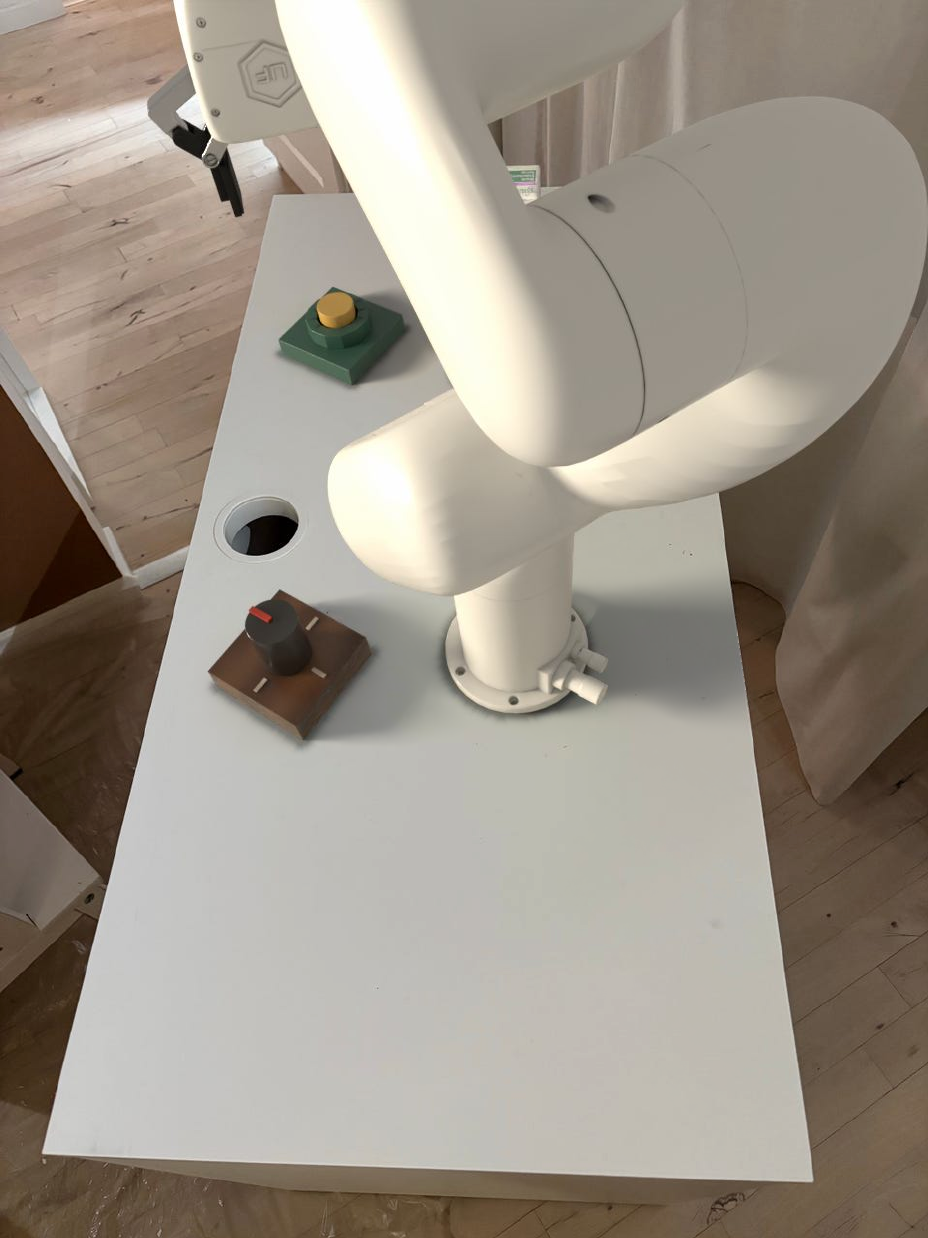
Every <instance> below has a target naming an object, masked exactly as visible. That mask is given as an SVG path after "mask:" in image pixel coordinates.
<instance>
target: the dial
mask: <svg viewBox="0 0 928 1238" xmlns="http://www.w3.org/2000/svg"><path fill="white" fill-rule="evenodd" d="M270 599H271V598H270ZM270 599H266V600H263V601H261V602H259V603H258V604H256V605H255V606H254V605H252V606H250V608H249V609H248V614H247V615H246V618H245V621H244V629H245V630H246V633H247V635H248V637H249V639H250V640H251V642H252V644H253V646H254V648H255V650H256V652H257V653H258V655H259V657H260V659H261V661H262V663H263V665H264V666H265V668H266V669H267V670H268V671H269V672H271V673H272V674H275V675H279V676H288V675H293V674H295V673H297V672H299V671H300V670H302V669H303V668H304V667H305V666H306V665H307V663H308V662H309V660H310V658H311V654H312V648H311V644H310V642H309V640H308V637H307V635H306V633H305V630H304V628H303V626H302V623H301V621H300V619H299V617H298V614H297V612H296V610H295V608H294V607H293V606H292V605H291V604H290V603H288V602H286V601H284V600H280V599H271V600H270Z"/></svg>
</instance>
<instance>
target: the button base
mask: <svg viewBox="0 0 928 1238" xmlns="http://www.w3.org/2000/svg"><path fill="white" fill-rule="evenodd" d="M335 292H341V293H345V294H348V295H349V296H350V297H351V298H352V299H353V303H354V307H355V312H356V317H355V320H354V321H353V322H352V323H351V324H350V325H348V326H345V327H343V328H340V329H329V328H326V327H325V326H323V325H322V324H321V322H320V318H319V314H318V311H317V304H318V302H319V300H320V299H321V298H322V297H324V296H325V295H327V294H330V293H335ZM404 331H406V327H405V322H404V315H403V314H402V313H399V312H397V311H394V310H392V309H389V308H388V307H385V306H382V305H380V304H377V303H375V302H372V301H370V300H367V299H365V298H363V297H361V296H358V295H355V294H353V293H351V292H347V291H345V290H343V289H340V288H338V287H335V286H331V287H330V288H329V289H328V291H326V292H325V293H324V294H323V295H322V296H321V297H320V298H317V300H316V301H315V302H314V303H312V304H311V305H310V306H309V307H308V309H307V311H306V312H305V313H303V315H302V316H301V317H300V318H299V319H298V320H297V321H295V323H294V324H293V325H292V326H290V327H289V328H288V329H287V330H286V331H285V332H284V333H283V334H282V335H281V336H280V337H279V338H278V339H277V340H278V343H279V346H280V350H281V353H282V355H284V356H286V357H288V358H290V359H292V360H295V361H297V362H299V363H301V364H303V365H306V366H308V367H310V368H312V369H314V370H317V371H319V372H322V373H323V374H326V375H328V376H330V377H333V378H335V379H337V380H340V381H341V382H344V383H346V384H348V385H351V386H354V384H355V383H356V382H357V381H358V380H359V379H360V378H361V377H362V376H363V375H364V374H365V373H366V372H367V371H368V370H369V369H370V368H371V366H373V364H374V363H376V361H377V360H378V359H379V358H380V357H381V356H382V355H383V354H384V353H385V352H386V351H387V350H388V348H389V347H390V346H391V345H392V344H393V343H394V342H395V341H396V340H397V339H398V338H399V337H400V336H401V335H402V334H403V333H404Z"/></svg>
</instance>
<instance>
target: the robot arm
mask: <svg viewBox="0 0 928 1238" xmlns="http://www.w3.org/2000/svg"><path fill="white" fill-rule="evenodd" d="M172 2H173V5H174V7H173V8H174V12H175V16H176V17H175V18H176V21H177V27H178V30H179V34H180V35H179V36H180V39H181V43H182V46H183V51H184V54H185V58H186V61H187V64H186V65H184V66H183V67H182V68H181V69H180V70H179V71H178V72H177V73H175V75H173V76H172V77H171V78H170V79H169V80H167V82H166V83H164V84H163V85H162V86H161V87H160V88H159V89H157V91H156V92H154V94H152V95H151V96H150V97H149V98H148V99H147V101H146V110H147V111H146V112H147V116H148V118H149V119H150V120H151V121H152V122H153V123H154V124H155V125H156V126H157V127H158V128H159V129H160V130H161V131H162V132H163V133H164V134H165V135H166V136H168V137H169V138H170V139H171V140H172V142H173V144H174V145H175V147H178V149H181V150H183V151H184V152H186V153H188V154H189V155H192V156H193V157H195V158H196V159H199V160H201V162H202V165H203V166H204V167H206V168H208V169H209V170H210V173H211V176H212V179H213V182H214V185H215V188H216V191H217V194H218V197H219V200H220V202H221V203H225V202H229V203H230V206H231V209H232V213H233V215H234V218H240V217H243V215H244V214H245V208H244V201H243V195H242V191H241V188H240V184H239V181H238V178H237V175H236V171H235V169H234V164H233V162H232V159H231V155H230V152H229V148H228V146H229V144H230V145H234V144H235V145H236V144H244V143H249V142H254V141H259V140H264V139H270V138H275V137H280V136H284V135H289V134H294V133H298V132H303V131H308V130H312V129H317V128H321V130H322V132H323V134H324V136H325V139H326V140H327V143H328V145H329V146H330V149H331V150H332V152H333V154H334V156H335V158H336V160H337V162H338V164H339V166H340V169H341V170H342V172H343V174H344V176H345V178H346V180H347V182H348V183H349V185H350V188H351V190H352V192H353V193H354V196H355V197H356V199H357V201H358V203H359V205H360V207H361V208H362V210H363V212H364V214H365V216H366V218H367V220H368V222H369V224H370V226H371V228H372V230H373V233H374V234H375V235H376V237H377V240H378V241H379V243H380V245H381V247H382V249H383V251H384V252H385V255H386V257H387V258H388V261H389V262H390V265H391V267H392V268H393V270H394V272H395V275H396V276H397V278H398V280H399V282H400V284H401V286H402V288H403V290H404V291H405V294H406V296H407V298H408V299H409V302H410V304H411V306H412V307H413V310H414V312H415V313H416V316H417V318H418V320H419V322H420V325H421V326H422V328H423V330H424V332H425V334H426V336H427V338H428V340H429V343H430V345H431V346H432V348H433V350H434V352H435V354H436V356H437V358H438V360H439V362H440V364H441V366H442V368H443V370H444V372H445V375H446V376H447V378H448V380H449V382H450V383H451V385H452V387H453V388H450V389H449V390H446V391H445V392H443V393H441V394H439V395H437V396H435V397H433V398H431V399H430V400H428V401H425V402H424V404H422V405H420V406H418V407H417V408H415V409H413V410H411V411H409V412H407V413H406V414H404V415H402V416H400V417H398V418H396V419H394V420H392V421H391V422H389V423H387V424H384V425H382V426H381V427H379V428H377V429H375V430H374V431H371V432H369V433H367V434H365V435H364V436H362V437H360V438H358V439H355V440H354V441H352V442H351V443H349V444H347V445H346V446H345V447H343V448H342V449H340V451H338V452H337V453H336V454H335V456H334V457H333V460H332V462H331V464H330V467H329V470H328V475H327V496H328V502H329V506H330V511H331V514H332V517H333V520H334V522H335V524H336V525H335V526H336V527H337V529H338V531H339V533H340V535H341V537H342V539H343V540H344V542H345V543H346V544H347V546H348V547H349V549H350V550H351V551H352V553H353V554H354V555H355V556H356V557H357V558H358V559H359V561H361V562H362V564H364V565H365V566H366V567H367V568H368V569H369V570H371V571H372V572H373V573H375V574H376V575H377V576H378V577H380V578H383V579H384V580H386V581H388V582H390V583H392V584H394V585H398V586H400V587H404V588H407V589H411V590H415V591H419V592H422V593H425V594H430V595H433V596H438V597H439V596H440V597H447V598H450V597H453V600H454V607H455V612H456V615H455V617H454V618H453V619H452V621H451V623H450V625H449V628H448V631H447V634H446V639H445V643H444V644H445V645H444V646H445V648H444V649H445V659H446V665H447V668H448V671H449V673H450V677H451V678H452V680H453V682H454V683H455V685H456V686H457V688H458V689H459V690H460V691H461V692H462V693H463V694H464V695H465V696H466V697H468V698H469V700H472V701H473V702H474V703H476V704H477V705H480V706H482V707H484V708H486V709H488V710H491V711H496V712H500V713H503V714H527V713H533V712H536V711H540V710H544V709H546V708H548V707H551V706H552V705H555V704H556V703H558V702H559V701H561V700H562V699H563V698H565V697H566V696H568V695H569V693H570V692H571V691H572V692H573V693H575V694H577V695H578V697H581V698H582V699H584V700H586V701H588V702H590V703H592V704H594V705H596V706H599V705H600V703H601V702H602V701H603V699H604V698H605V696H606V693H607V691H608V688H609V685H608V684H607V683H605V682H603V681H601V680H599V679H597V678H596V677H594V676H592V675H590V674H589V675H588V674H586V673H584V672H585V669H586V666H587V667H588V668H590V669H591V670H593V671H596V672H597V673H600V674H602V673H603V672H604V671H605V669H606V667H607V665H608V663H609V658H608V657H606V656H604V655H602V654H600V653H598V652H597V651H592V650H591V649H589V638H588V635H587V629H586V627H585V625H584V623H583V621H582V619H581V617H580V615H579V614H578V613H577V612H576V610H575V609H574V608H573V606H572V604H573V573H574V572H573V570H574V552H575V551H574V549H575V533H576V532H579V531H580V530H582V529H584V528H585V527H587V526H588V525H590V524H592V523H593V522H594V521H595V522H596V520H598V519H600V518H602V516H605V515H607V514H610V513H612V512H619V511H625V510H626V511H627V510H636V509H644V508H650V507H657V506H658V507H659V506H667V505H673V504H674V505H675V504H678V503H683V502H688V501H693V500H696V499H700V498H704V497H708V496H712V495H715V494H719V493H721V492H724V491H726V490H730V489H732V488H735V487H737V486H739V485H742V484H744V483H747V482H748V481H750V480H753V479H755V478H756V477H758V476H760V475H762V474H764V473H767V472H768V471H770V470H771V469H773V468H775V467H777V466H779V465H780V464H782V463H784V462H785V461H787V460H789V459H790V458H792V457H794V456H795V455H797V454H798V453H799V452H801V451H802V450H804V449H806V448H807V447H808V446H809V445H811V444H812V443H813V442H815V441H816V440H817V439H818V438H819V437H821V436H822V435H823V434H825V432H827V431H828V430H829V429H830V428H831V427H832V426H833V425H835V424H836V423H837V421H839V420H840V419H841V418H843V416H844V415H845V414H846V413H847V412H849V410H850V409H851V408H852V407H853V406H854V405H855V404H856V403H857V402H858V401H859V400H860V399H861V398H862V396H863V395H864V394H865V393H866V392H867V390H868V389H869V388H870V387H871V385H872V384H873V383H874V381H875V380H876V379H877V377H878V376H879V375H880V373H881V372H882V371H883V369H884V367H885V365H886V364H887V363H888V361H889V359H890V358H891V356H892V354H893V352H894V350H895V349H896V347H897V345H898V343H899V341H900V339H901V337H902V334H903V332H904V330H905V329H906V326H907V323H908V320H909V318H910V315H911V314H912V313H911V312H912V311H913V308H914V305H915V301H916V298H917V296H918V295H917V294H918V291H919V288H920V284H921V280H922V275H923V271H924V265H925V261H926V253H927V245H928V195H927V188H926V182H925V178H924V176H923V172H922V169H921V166H920V163H919V161H918V159H917V155H916V153H915V151H914V150H913V147H912V146H911V144H910V142H909V141H908V140H907V139H906V137H905V136H904V135H903V134H902V132H900V131H899V130H898V128H897V127H896V126H894V124H892V122H890V121H889V120H888V119H887V118H886V117H885V116H883V115H882V114H880V113H879V112H878V111H876V110H874V109H871V108H869V107H867V106H865V105H862V104H859V103H857V102H854V101H851V100H845V99H841V98H837V97H831V96H822V95H821V96H819V95H811V96H810V95H809V96H788V97H778V98H773V99H767V100H761V101H758V102H753V103H749V104H745V105H742V106H739V107H736V108H735V107H734V108H732V109H729V110H726V111H723V112H721V113H717V114H714V115H712V116H709V117H706V118H704V119H701V120H699V121H697V122H695V123H693V124H691V125H689V126H687V127H684V128H682V129H680V130H678V131H676V132H674V133H672V134H669V135H668V136H665V137H664V138H661V139H660V140H657V141H655V142H653V143H651V144H648V145H646V146H644V147H642V148H640V149H638V150H635V151H633V152H631V153H628V154H626V155H625V156H623V157H620V158H618V159H616V160H615V161H612V162H610V163H609V164H606V165H604V166H601V167H599V168H598V169H596V170H594V171H591V172H590V173H587V174H586V175H585V174H584V175H583V176H581V177H580V178H577V179H575V180H573V181H571V182H569V183H567V184H565V185H563V186H561V187H558V188H556V189H555V190H552V191H550V192H549V193H546V194H544V195H541V197H540V198H538V199H536V200H534V201H532V202H530V203H528V204H526V205H525V203H524V201H523V199H522V197H521V195H520V193H519V191H518V189H517V187H516V185H515V183H514V181H513V179H512V177H511V174H510V172H509V170H508V168H507V166H508V165H507V163H506V162H505V159H504V158H503V155H502V153H501V151H500V150H499V147H498V145H497V143H496V141H495V139H494V137H493V135H492V133H491V130H490V128H489V124H492V123H494V122H496V121H498V120H500V119H503V118H506V117H507V116H509V115H512V114H513V113H516V112H518V111H520V110H523V109H525V108H527V107H530V106H531V105H533V104H536V103H538V102H541V101H542V100H545V99H547V98H549V97H552V96H553V95H556V94H558V93H561V92H562V91H565V90H567V89H570V88H572V87H574V86H575V85H576V86H577V85H579V84H580V83H582V82H583V83H584V82H585V81H587V80H589V79H591V78H593V77H596V76H597V75H599V74H601V73H603V72H605V71H607V70H609V69H611V68H613V67H615V66H617V65H618V64H620V63H621V62H623V61H625V60H626V59H629V58H630V57H631V56H633V55H634V54H636V53H637V52H639V51H640V50H642V49H643V48H645V47H646V46H647V45H648V44H650V43H651V42H652V41H653V40H654V39H655V38H656V37H657V36H658V35H660V33H662V31H664V30H665V29H666V28H667V27H668V26H669V25H670V24H671V22H672V21H673V20H674V18H675V17H676V16H677V15H678V13H680V11H681V10H682V9H683V7H684V6H685V5H686V3H687V2H688V0H173V1H172ZM195 95H196V98H197V101H198V104H199V108H200V111H201V113H202V116H203V120H204V122H205V123H204V124H203V127H202V128H200V127H198V126H196V125H194V124H193V123H191V122H189V121H188V120H186V119H184V118H182V117H181V116H180V115H179V114H178V112H177V111H178V110H179V109H180V108H181V107H182V106H184V104H186V103H187V102H188V101H190V99H191V98H193V97H194V96H195Z"/></svg>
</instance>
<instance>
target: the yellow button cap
mask: <svg viewBox="0 0 928 1238" xmlns="http://www.w3.org/2000/svg"><path fill="white" fill-rule="evenodd" d="M324 295H325V294H324ZM324 295H323V296H324ZM321 297H322V296H321ZM321 297H320V298H321ZM320 298H319V299H320ZM317 311H318V314H319V318H320V322H321V324H322V325H323V326H325V327H326V328H329V329H340V328H343V327H345V326H348V325H350V324H351V323H352V322H353V321H354V320H355V317H356V312H355V307H354V303H353V299H352V298H351V297H350V296H349V295H348V294H345V293H341V292H335V293H330V294H327V295H325V296H324V297H322V298H321V299H320V300H319V302H318V304H317Z"/></svg>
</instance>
